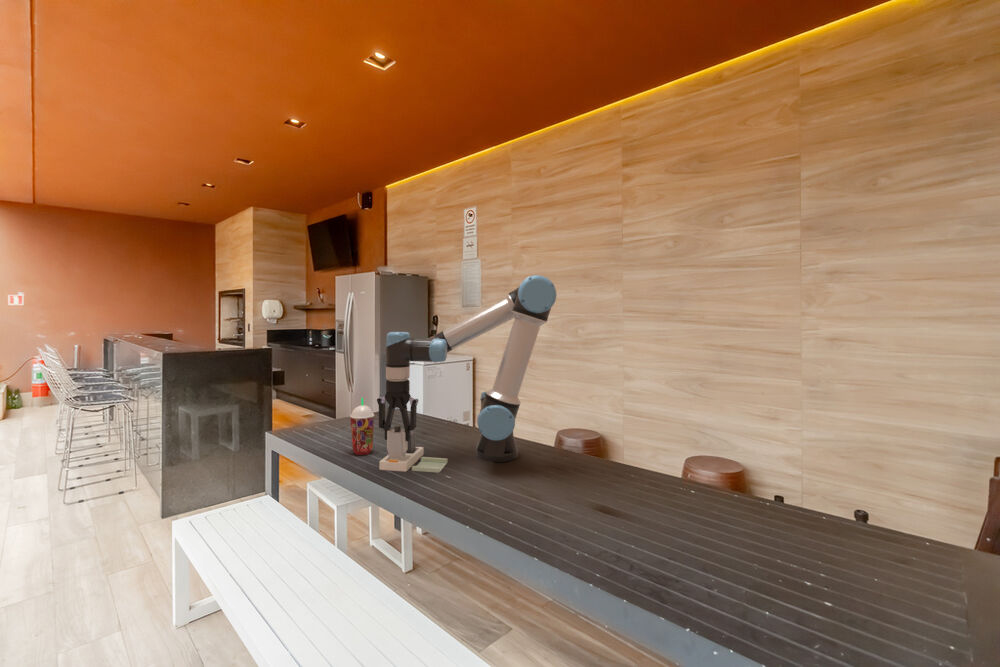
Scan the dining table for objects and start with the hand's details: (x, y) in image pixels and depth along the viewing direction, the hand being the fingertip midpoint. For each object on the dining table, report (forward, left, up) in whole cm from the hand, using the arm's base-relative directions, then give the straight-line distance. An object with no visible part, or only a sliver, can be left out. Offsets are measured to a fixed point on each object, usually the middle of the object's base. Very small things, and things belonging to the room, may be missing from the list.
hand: (397, 449), depth 146 cm
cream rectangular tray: (0, -4, -6) cm, 7 cm away
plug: (0, 0, -2) cm, 2 cm away
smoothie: (+18, -12, -6) cm, 22 cm away
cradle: (-11, -2, -6) cm, 12 cm away
